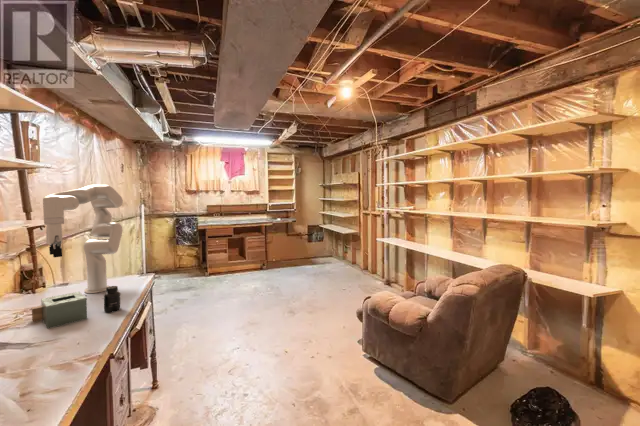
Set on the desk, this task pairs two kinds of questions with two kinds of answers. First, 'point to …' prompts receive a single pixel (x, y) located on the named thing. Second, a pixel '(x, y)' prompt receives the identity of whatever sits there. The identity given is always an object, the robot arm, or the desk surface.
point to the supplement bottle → (111, 299)
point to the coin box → (63, 309)
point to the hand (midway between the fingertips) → (55, 255)
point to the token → (37, 313)
